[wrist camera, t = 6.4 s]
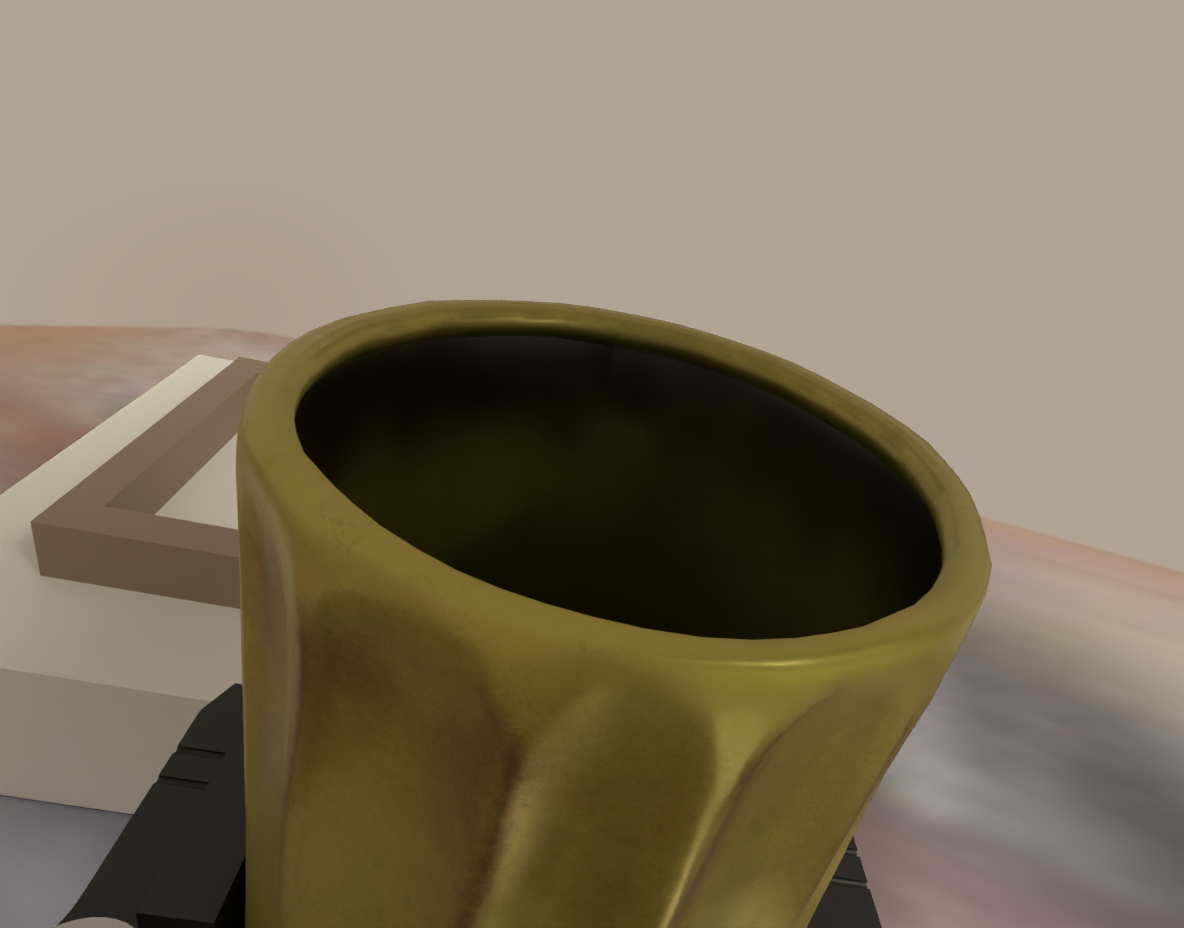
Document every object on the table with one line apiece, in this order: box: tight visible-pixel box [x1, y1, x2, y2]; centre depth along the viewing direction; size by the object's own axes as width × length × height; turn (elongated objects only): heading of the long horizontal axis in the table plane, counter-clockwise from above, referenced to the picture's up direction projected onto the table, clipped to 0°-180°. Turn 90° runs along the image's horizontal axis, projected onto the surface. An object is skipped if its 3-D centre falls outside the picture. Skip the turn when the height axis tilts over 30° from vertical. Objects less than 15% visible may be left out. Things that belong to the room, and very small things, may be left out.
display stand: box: [0, 355, 269, 814], centre depth 23 cm, size 16×16×6 cm
